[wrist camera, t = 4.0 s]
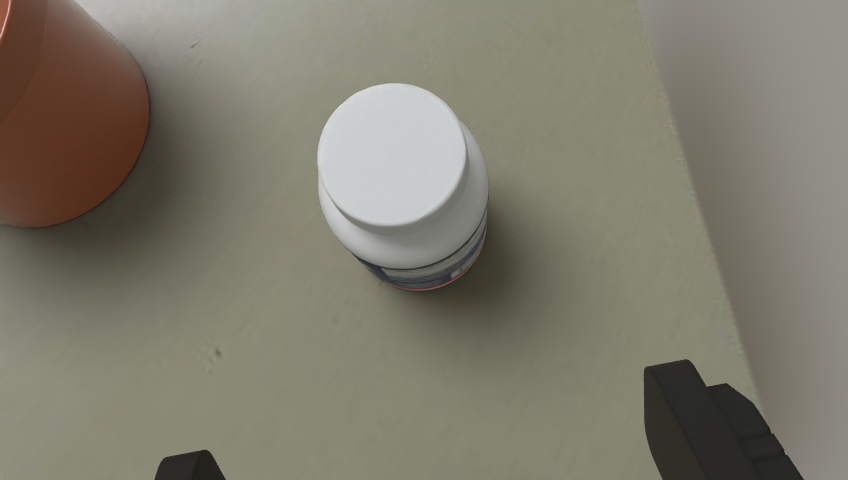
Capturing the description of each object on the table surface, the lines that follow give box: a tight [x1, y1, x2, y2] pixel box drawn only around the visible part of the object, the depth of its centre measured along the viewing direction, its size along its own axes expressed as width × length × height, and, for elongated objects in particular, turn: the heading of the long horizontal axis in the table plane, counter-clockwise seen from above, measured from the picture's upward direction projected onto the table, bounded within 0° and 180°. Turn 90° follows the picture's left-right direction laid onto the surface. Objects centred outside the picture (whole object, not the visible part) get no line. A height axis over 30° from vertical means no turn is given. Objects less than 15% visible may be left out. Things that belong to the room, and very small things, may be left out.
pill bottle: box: [318, 83, 489, 291], centre depth 22 cm, size 5×5×9 cm
